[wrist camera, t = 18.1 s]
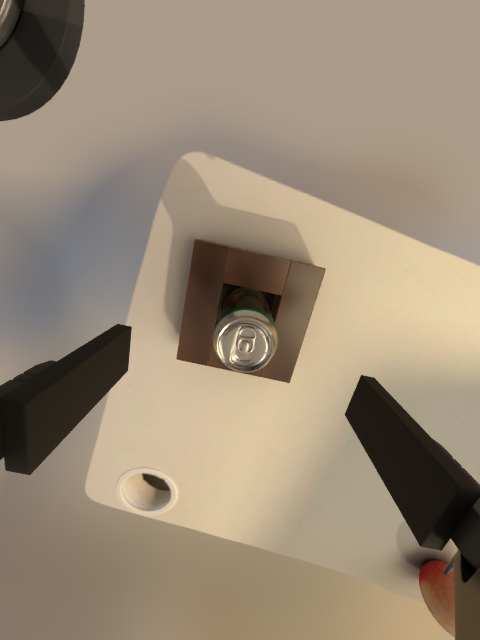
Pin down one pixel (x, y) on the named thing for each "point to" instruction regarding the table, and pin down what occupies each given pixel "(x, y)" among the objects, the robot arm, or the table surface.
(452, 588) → the fruit
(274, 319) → the holder
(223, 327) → the soda can
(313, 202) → the table surface
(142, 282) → the table surface
